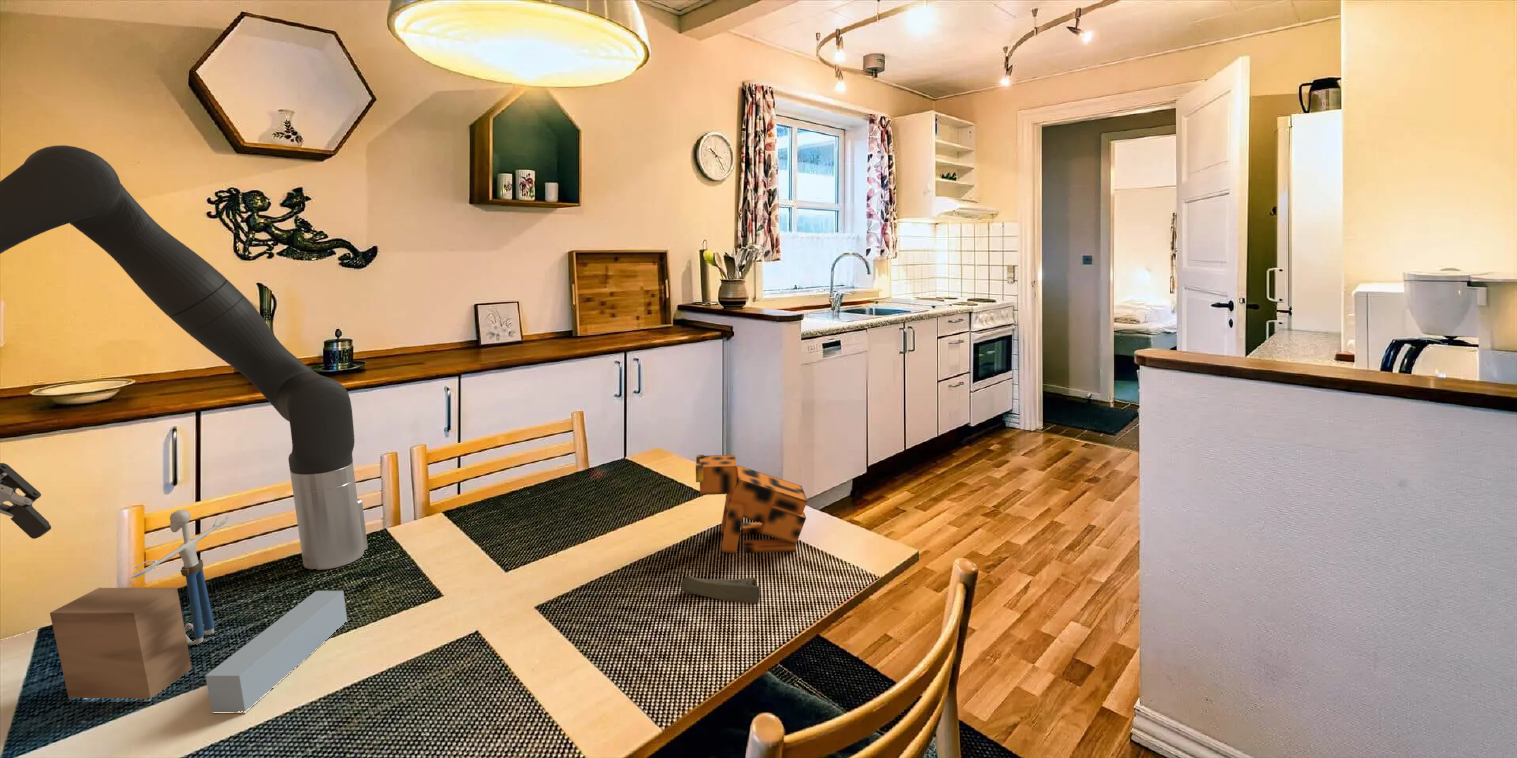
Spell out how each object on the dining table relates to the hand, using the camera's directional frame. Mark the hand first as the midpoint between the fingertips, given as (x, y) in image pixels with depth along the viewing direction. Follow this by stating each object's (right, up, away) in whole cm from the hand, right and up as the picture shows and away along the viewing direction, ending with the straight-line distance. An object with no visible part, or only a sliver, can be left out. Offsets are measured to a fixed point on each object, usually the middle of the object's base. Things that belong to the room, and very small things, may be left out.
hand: (12, 545), depth 82 cm
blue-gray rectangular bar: (+28, -18, +8) cm, 34 cm away
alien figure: (+11, -17, +13) cm, 24 cm away
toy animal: (+89, -10, +45) cm, 101 cm away
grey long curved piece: (+85, -15, +25) cm, 89 cm away
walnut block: (+12, -19, +3) cm, 22 cm away
